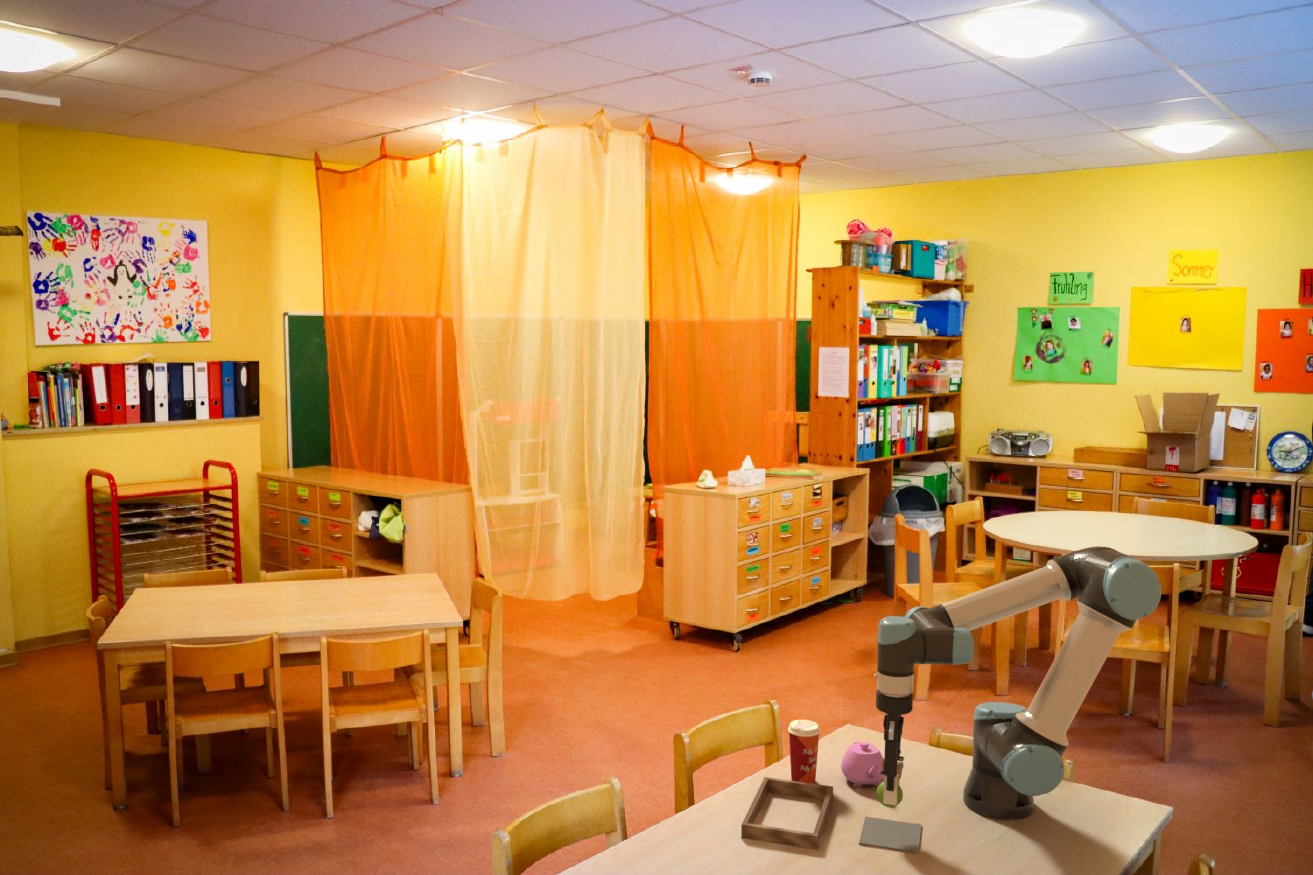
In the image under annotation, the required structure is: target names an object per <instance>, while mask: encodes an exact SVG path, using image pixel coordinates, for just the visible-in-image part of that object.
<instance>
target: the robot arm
mask: <svg viewBox="0 0 1313 875" xmlns="http://www.w3.org/2000/svg"><path fill="white" fill-rule="evenodd" d="M1161 597H1162V585H1161V582H1160V580H1159V577H1158V575H1157V573H1156V572H1155V570H1154V569H1153V568H1152V567H1150V566H1149V565H1148V564H1146V563H1144V562H1143V561H1141V560H1140V559H1139V558H1136V557H1132V556H1131V555H1128V554H1125V553H1123V552H1120V551H1118V550H1116V549H1115V548H1111V547H1108V546H1100V545H1099V546H1098V545H1097V546H1091V547H1086V548H1081V549H1078V550H1074V551H1071V552H1069V553H1066V554H1063V555H1060V556H1057V557H1054V558H1052V559H1049V560H1048V561H1047V563H1046V565H1045V566H1043V567H1040V568H1038V569H1035V570H1033V571H1032V570H1031V571H1030V572H1027V573H1024V574H1020V575H1018V576H1016V577H1012V578H1010V579H1007V580H1005V581H1002V582H998V583H996V584H994V585H991V586H988V587H985V588H983V589H980V590H977V591H974V592H971V593H969V594H967V595H966V594H965V595H963V596H961V597H958V598H955V599H952V600H950V601H947V602H943V603H941V604H938V605H934V606H932V607H925V606H918V605H917V606H915V607H913V608H911V609H909V610H908V611H907V612H906V614H905V615H904V616H898V615H890V616H885V617H883V618H881V619H880V621H879V623H878V632H877V637H876V641H877V661H876V662H877V665H876V666H877V667H876V668H877V670H876V671H877V672H876V673H874V674H873V678H874V679H876V688H877V690H876V693H875V707H876V709H877V710H878V711H879V712H880V713H885V714H884V716H883V717H884V718H883V724H882V725H883V728H884V731H883V740H884V756H883V759H884V771H881V774H883V775H884V780H883V781H884V794H883V804H890V805H897V784H898V785H899V786H900V781H899V782H898V783H897V780H898V774H897V763H898V762H904V760H901V761H900V760H899V758H902V757H903V756H902V755H901V754H902V750H901V742H902V741H901V740H902V735H903V728H904V727H903V726H904V722H905V720H904V719H905V718H904V717H905V716H902V715H907V714H910V713H911V712H912V711H913V708H914V707H913V706H914V705H913V703H914V695H913V692H914V684H915V682H914V681H915V679H914V678H915V665H944V666H945V665H950V666H951V665H952V666H956V665H965V664H969V663H970V662H971V661H972V660H973V657H974V654H975V644H974V637H973V635H972V633H971V631H973V630H975V629H979V628H981V627H985V626H987V625H990V624H993V623H995V622H999V621H1002V620H1005V619H1007V618H1010V617H1012V616H1016V615H1018V614H1021V613H1024V612H1026V611H1029V610H1033V609H1035V608H1039V607H1040V606H1044V605H1047V604H1049V603H1052V602H1055V601H1058V600H1063V601H1065V602H1069V601H1072V600H1074V599H1077V600H1076V604H1077V606H1078V609H1079V613H1078V614H1077V617H1076V619H1075V620H1074V623H1073V625H1072V626H1071V628H1070V630H1069V631H1068V633H1067V636H1066V637H1065V639H1064V641H1063V643H1062V645H1061V646H1060V648H1059V650H1058V652H1057V654H1056V656H1055V657H1054V659H1053V661H1052V662H1051V665H1050V667H1049V669H1048V671H1047V672H1046V674H1045V676H1044V678H1043V680H1042V682H1041V683H1040V686H1038V689H1037V691H1036V692H1035V694H1034V697H1033V699H1032V701H1031V702H1030V703H1029V705H1028V708H1027V707H1025V706H1023V705H1019V704H1016V703H1011V702H1004V701H1003V702H1002V701H1001V702H1000V701H989V702H988V701H987V702H983V703H979V704H978V705H977V706H976V707H975V709H974V716H973V718H972V721H973V736H972V768H971V770H970V771H969V775H968V777H967V780H966V782H965V785H964V787H963V794H962V795H963V799H962V800H963V802H964V804H965V806H966V807H968V808H969V809H970V810H971V811H974V812H976V813H977V814H980V815H982V816H986V817H989V818H993V819H994V818H995V819H1000V820H1019V819H1024V818H1027V817H1029V816H1031V815H1032V813H1034V808H1035V807H1034V806H1035V801H1034V797H1039V796H1042V795H1047V794H1049V793H1051V792H1052V791H1054V790H1055V789H1056V788H1058V787H1059V785H1060V784H1061V782H1062V781H1063V778H1064V777H1065V776H1064V775H1065V765H1064V764H1065V763H1064V760H1063V758H1062V757H1063V756H1064V754H1065V752H1066V751H1067V748H1068V747H1069V740H1068V738H1067V732H1068V729H1069V728H1070V725H1071V724H1072V722H1073V720H1074V719H1075V717H1076V715H1077V713H1078V712H1079V710H1080V707H1081V706H1082V704H1083V702H1084V700H1085V698H1086V696H1087V694H1088V693H1089V691H1090V689H1091V687H1092V686H1093V684H1094V682H1095V680H1096V678H1097V676H1098V675H1099V673H1100V671H1101V669H1102V667H1103V665H1104V664H1105V662H1106V660H1107V658H1108V656H1109V655H1110V653H1111V651H1112V649H1113V647H1114V645H1115V643H1116V642H1117V640H1118V638H1119V636H1120V634H1122V633H1124V632H1128V631H1132V629H1133V628H1134V627H1135V624H1136V622H1137V621H1138V620H1141V619H1143V618H1145V617H1149V616H1150V615H1151V614H1152V613H1153V612H1154V611H1156V609H1157V607H1158V605H1159V603H1160V601H1161ZM897 806H898V805H897Z"/></svg>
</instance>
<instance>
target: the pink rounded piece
mask: <svg viewBox="0 0 1313 875" xmlns="http://www.w3.org/2000/svg"><path fill="white" fill-rule="evenodd" d="M883 760H884V756H883V755H882V752H881V751H880V749H879V748H878V747H877V746H876V745H874V744H872V743H869V742H867V741H861V742H860V741H859V740H858V741H854V742H853V744H851V745H849V746H848V748H847V749H846V751H845V753H844V755H843V757H842V759H841V765H840V767H841V768H840V769H841V772H842V774H843V776H844V777H845V778H846V779H847V781H849V782H851V783H853V787H855V788H861V787H862V786H863V785H872V786H874V787H878V786H879V784H880V783H882V782H883V781H884V778H883V775H882V774H881V771H883V769H882V761H883Z"/></svg>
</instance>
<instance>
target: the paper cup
mask: <svg viewBox="0 0 1313 875" xmlns="http://www.w3.org/2000/svg"><path fill="white" fill-rule="evenodd" d="M787 731H788V734H789V736H788V738H789V755H790V756H789V759H790V761H789V762H790V776H791V781H797V782H805V783H812V784H816V775H817V765H818V764H817V763H818V753H819V752H818V751H819V738H820V733H821V729H820V726H819V724H818V723H817V722H815V721H814V720H813V721H812V720H809V719H795V720H792V721H791V722H790V723H789V726H788V728H787Z"/></svg>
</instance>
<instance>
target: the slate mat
mask: <svg viewBox="0 0 1313 875" xmlns="http://www.w3.org/2000/svg"><path fill="white" fill-rule="evenodd" d="M863 820H864V821H863V824H862V829H861V833H860V838H859V842H858V844H859V845H861V846H867V847H872V848H878V849H879V848H880V849H888V850H892V851H899V852H907V853H912V854H919V850H920V843H921V842H920V841H921V836H922V835H921V833H922V824H918V823H913V822H905V821H900V820H893V819H886V818H885V819H884V818H881V817H871V816H865V817H864V819H863Z"/></svg>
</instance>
